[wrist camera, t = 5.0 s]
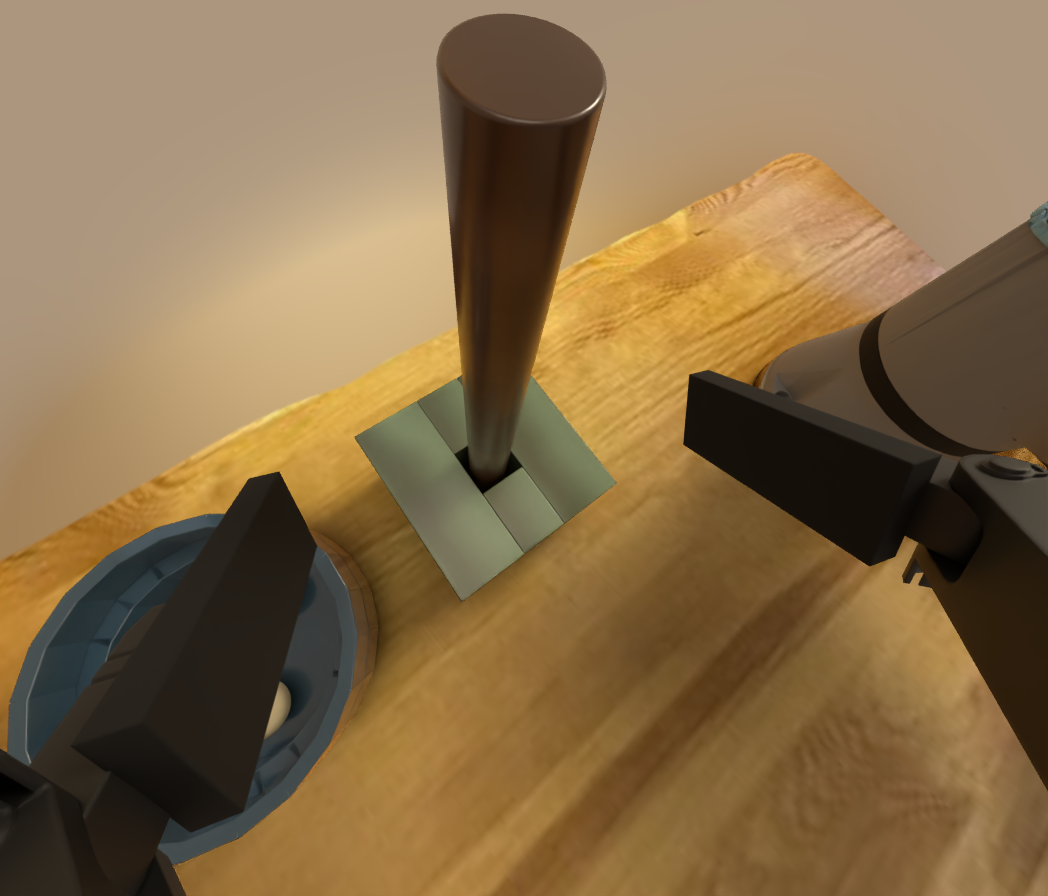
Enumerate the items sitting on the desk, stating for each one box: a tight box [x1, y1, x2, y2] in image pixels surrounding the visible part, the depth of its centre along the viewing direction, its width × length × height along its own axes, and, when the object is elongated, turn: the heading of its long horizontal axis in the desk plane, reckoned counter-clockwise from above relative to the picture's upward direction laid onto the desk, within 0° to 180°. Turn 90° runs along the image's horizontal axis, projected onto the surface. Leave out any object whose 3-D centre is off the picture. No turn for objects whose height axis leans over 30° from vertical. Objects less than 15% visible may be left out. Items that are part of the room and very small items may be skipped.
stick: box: [437, 14, 606, 495], centre depth 17 cm, size 2×2×26 cm
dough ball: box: [264, 682, 291, 739], centre depth 22 cm, size 3×3×3 cm
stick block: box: [355, 375, 617, 602], centre depth 26 cm, size 11×11×8 cm
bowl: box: [7, 514, 379, 865], centre depth 22 cm, size 16×16×6 cm
